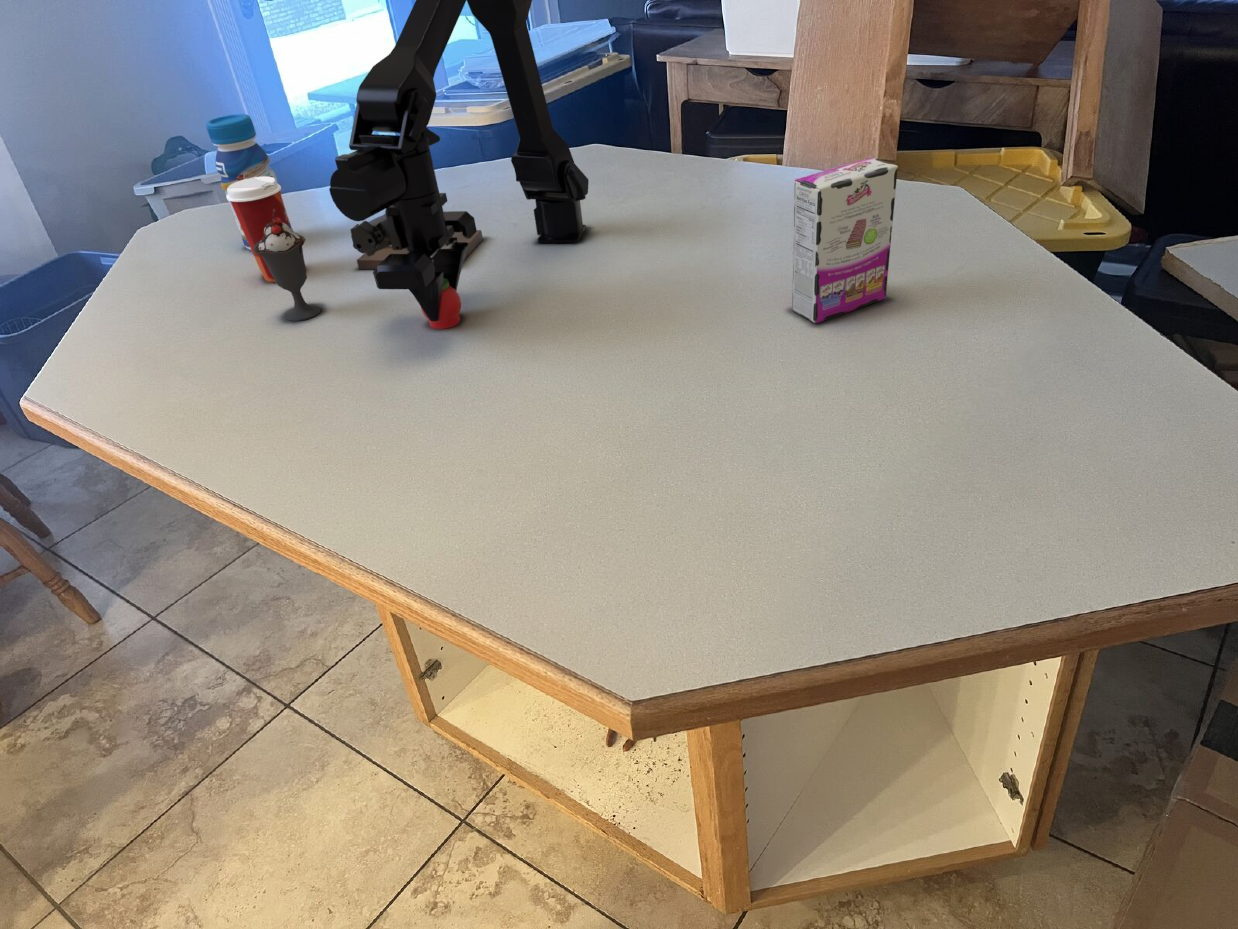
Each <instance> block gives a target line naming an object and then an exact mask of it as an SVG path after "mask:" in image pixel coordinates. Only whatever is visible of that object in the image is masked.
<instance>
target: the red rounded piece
mask: <svg viewBox="0 0 1238 929" xmlns="http://www.w3.org/2000/svg"><path fill="white" fill-rule="evenodd" d="M419 306H420V305H419ZM461 309H462V300H461V297H460V294H459V293H458V290H457V291H456V290H455V289H454V288H452V287H451V286H449V282H448V280H447V279H445V278H443V284H442V295H441V307H440V316H439V320H438V321H430V320H429V318H428V316H427V315H426V313H425V312H424V310H423V309H422V307H421V306H420V310H421V313H422V314H423V316H424V317H425V318H426V319H427V320H428V323H429V326H430V327H431V328H432V329H435V330H442V329H443V330H444V329H449V328H452V327H454V326H456V325H458V324H459V323H460V321H461V317H460V312H461Z"/></svg>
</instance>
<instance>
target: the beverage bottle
mask: <svg viewBox="0 0 1238 929" xmlns="http://www.w3.org/2000/svg"><path fill="white" fill-rule="evenodd" d="M253 123H254V122H253V120H252V118H251V116H250V115H249V114H247V113H236V114H235V113H234V114H227V115H222V116H218V117H214V118H212V119H209V120H207V121H206V122H205V127H206V130H207V134H208V137H209V139H210V141H211V143H212V145H213V146H215V147H217V151H216V155H215V169H216V171H217V173H218V174H219V175H220V177H221V178H220V185H221V189H222V190H223V192H224V194H225V196H226V197H227V195H228V193H227V188H228V187H229V186H230V185H231V184H233V183H235V182H238V181H241V180H244V179H249V178H254V177H264V176H267V177H273V178H274V179H275V180H276V181H277V182H278V178H277V174H276V173H275V171H274V170H273V168H272V167H271V165H270V163H271V159H270V157H269V155H268V154H267V152H266V151H265V149H263V147H261V145H260V144H259V143H257V142H256V141H255V139H256V138H257V132H256V129H255V126H254V124H253ZM282 200H283V198H282ZM227 201H228V204H229V207H230V209H231V213H232V214H233V218H234V220H235V224H236V225H237V228H238V230H239V234H240V237H241V240H242V242H243V245H244V247H245V248H246V249H247V250H250V251H252V250H251V248H250V246H249V243H248V241H247V239H246V236H245V234H244V232H243V229H242V227H241V225H240V223H239V220H238V218H237V216H236V213H235V211H234V209H233V206H232V204H231V202H230V201H229V200H227ZM283 203H284V200H283ZM284 204H285V203H284ZM284 207H285V211H286V214H287V218H288V222H289V225H290V229H291V231H294V228H293V227H292V225H291V224H292V223H291V221H290V218H289V216H288V212H287V209H286V206H285V205H284Z"/></svg>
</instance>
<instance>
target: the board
mask: <svg viewBox="0 0 1238 929" xmlns="http://www.w3.org/2000/svg"><path fill="white" fill-rule="evenodd" d="M476 230H477V232H476V233H475V234H474V235H473V236H472V237H471V238H470V239H466V238H465V237H464V236H463V234H462V232H454V238H455V237H457V240H458V242H467V243H468V248H467V250H466V254H465V258H464V261H465V260H466V259H467V258H468V256H470V254H471V253H472V252H473V251H474V250H475V249H476V248H477V246H478V245H479V244H480V243H481V242H482V241H483V239H484V238H483V231H482V230H481V229H476ZM408 252H409V251H407V249H402V250H393V249H392V245H390V246H388V247H386V248H384V249H381V250H379V251H377V252H375V254H374V255H372V256H369V257H368V256H367V254H366V253H362V255H361V256H359V257H358V258H357V259H356V264H357V267H358V270H375V269H376V267H377V266H378V265H379V264H380V263H381V262H382V261H383V260H384V259H385V258H386V257H387V256H388V255H390V254H407V253H408Z"/></svg>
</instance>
